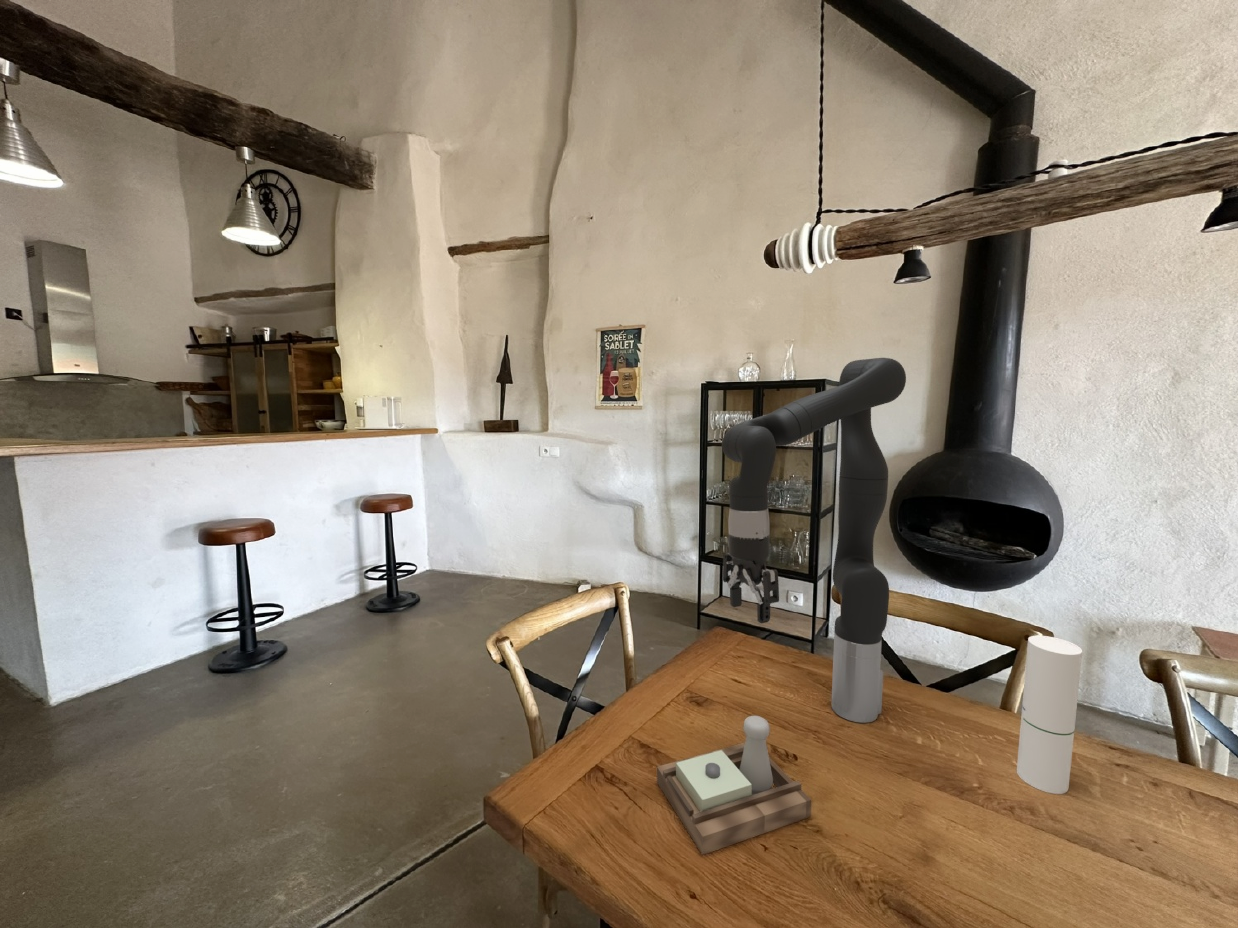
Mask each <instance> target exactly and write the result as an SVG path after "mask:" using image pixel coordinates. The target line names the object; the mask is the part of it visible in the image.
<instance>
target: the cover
mask: <svg viewBox="0 0 1238 928" xmlns="http://www.w3.org/2000/svg"><path fill="white" fill-rule="evenodd" d="M676 777H677V778H678V780H679V781H680V783H681V784H682V786H683V787H684V789H685V790H686V792H687V793H688V794H689V796H690V797H691V799H692V800H693V802H694V803H695V805H696V806H697V808H698V809H699V811H700V812H702V811H705V810H708V809H712V808H715V807H718V806H721V805H724V804H727V803H730V802H733V801H736V800H739V799H743V798H746V797H749V796H751V791H752V784H751V783H750V782H749V781H748V780H747V779H746V778H745V776H744V775H743V774H742V773H741V772H740V771H739V769H738V768H737V767H736V766H735V765H734V764H733V763H732V761H731V760H730V759H729V758H728V757H727V756H726V755H725V753H724V752H723V751H722V750H720V751H716V752H713V753H709V754H706V755H702V756H698V757H695V758H691V759H688V760H684V761H680V762H677V763H676Z"/></svg>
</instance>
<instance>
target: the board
mask: <svg viewBox="0 0 1238 928" xmlns="http://www.w3.org/2000/svg"><path fill="white" fill-rule="evenodd" d="M744 746H745V742H741V743H738V744H734V745H733V744H732V745H730V746H727V747H723V748H719V749H716V750H712V751H709V752H705V753H702V754H698V755H694V756H690V757H687V758H683V759H680V760H677V761H672V762H669V763H665V764H662V765H658V766H656V784H657V785H658V786H659V788H660V790H661V792H662V793H663V795H664V796H665V798H666V799H667V801H668V803H669V804H670V806H671V808H673V810H674V812H675V813H676V815H677V817H678V819H679V820H680V822H681V823H682V826H684V828H685V831H687V833H688V835H689V837H690V838H691V839H692V841H693V843H694V844H695V846H696V847H697V849H698V850H699V852H700V854H701V855H702V856H703V855H706V854H707V855H708V854H710V853H712V852H715V851H717V850H718V851H719V850H721V849H724V848H726V847H729V846H732V845H735V844H737V843H741V842H743V841H747V840H749V839H751V838H754V837H757V836H760V835H763V834H767V833H768V832H772V831H774V830H777V829H780V828H783V827H786V826H788V825H791V824H795V823H797V822H799V821H803V820H805V819H808V818H811V816H812V798H810V797H809V795H807V793H806V792H805V791H803V790H802V785H803V784H802V782H800V780H796V781H794V780H793V779H792V778H791V777H790V776H789V775H788V774H787V773H785V771H784V770H783V769H782V768H781V767H780V766H779V765H778V764H777V763H776V762H775V761H774V760H773V759H772V758H771V757H770V756H769V761H770V766H771V772H772V777H773V785H774V786H775V788H774V787H773V788H771V790H767V791H764V792H761V793H758V794H755V795H752V796H749V797H746V798H743V799H739V800H736V801H733V802H730V803H727V804H724V805H721V806H718V807H715V808H712V809H708V810H705V811H702V812H700V811H699V809H698V808H697V806H696V805H695V803H694V802H693V800H692V799H691V797H690V796H689V794H688V793H687V792H686V790H685V789H684V787H683V786H682V784H681V783H680V781H679V780H678V778H677V777H676V763H677V762H680V761H684V760H688V759H691V758H695V757H698V756H702V755H706V754H709V753H713V752H716V751H720V750H722V751H723V752H724V753H725V755H726V756H727V757H728V758H729V759H730V760H731V761H732V763H733V764H734V765H735V766H736V767H737V768H738V769H740V765H741V761H742V756H743V751H744Z"/></svg>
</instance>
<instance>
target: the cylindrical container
mask: <svg viewBox="0 0 1238 928" xmlns="http://www.w3.org/2000/svg"><path fill="white" fill-rule="evenodd" d="M1027 639H1028V640H1027V648H1026V649H1027V650H1026V660H1025V671H1024V683H1023V693H1022V694H1023V695H1022V696H1023V697H1022V704H1021V705H1022V706H1021V707H1022V708H1021V715H1020V716H1021V718H1020V727H1019V728H1020V729H1019V740H1018V750H1017V762H1016V763H1017V764H1016V773H1017V775H1018V776H1019V778H1020V779H1021V780H1022V781H1023V782H1025V784H1027V785H1029V786H1031V787H1033V788H1035V789H1037V790H1039V791H1042V792H1045V793H1048V794H1054V795H1055V794H1056V795H1063V794H1066V793H1068V791H1069V786H1070V775H1071V768H1072V767H1071V766H1072V757H1073V748H1074V747H1073V745H1074V738H1075V737H1074V735H1075V727H1076V717H1077V710H1078V709H1077V706H1078V698H1079V687H1080V678H1081V677H1080V675H1081V667H1082V656H1083V650H1082V648H1081V647H1080V646H1078V645H1077V644H1075V643H1072V642H1070V641H1068V640H1065V639H1062V638H1057V637H1054V636H1047V635H1032V636H1029V637H1028V638H1027Z"/></svg>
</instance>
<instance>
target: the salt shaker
mask: <svg viewBox="0 0 1238 928" xmlns="http://www.w3.org/2000/svg"><path fill="white" fill-rule="evenodd" d="M743 733H744V734H745V736H746V737H745V746H744V751H743V756H742V761H741V765H740V769H739V771H740V772H741V773H742V774H743V775H744V776H745V778H746V779H747V780H748V781H749V782H750V783H751V784H752V791H751V796H752V795H755V794H758V793H761V792H764V791H767V790H771V789H773V785H774V784H773V777H772V772H771V766H770V761H769V757H770V756H769V752H768V747H767V746H768V745H767V740H766V739H767V738H768V737H769V735H770V723H769V722H768V720H767V719H765V718H764V717H762V716H759V715H750V716H748V717H746V718H745V719H744V721H743Z"/></svg>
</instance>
